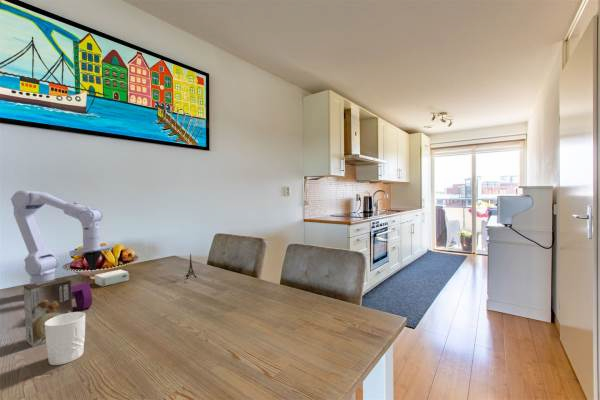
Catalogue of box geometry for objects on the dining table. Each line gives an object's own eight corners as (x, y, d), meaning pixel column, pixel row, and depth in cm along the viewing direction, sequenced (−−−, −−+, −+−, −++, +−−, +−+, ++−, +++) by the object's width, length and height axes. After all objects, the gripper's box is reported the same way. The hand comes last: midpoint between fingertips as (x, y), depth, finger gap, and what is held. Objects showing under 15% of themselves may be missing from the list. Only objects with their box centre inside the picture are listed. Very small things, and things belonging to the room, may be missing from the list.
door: (101, 286, 123) (101, 278, 123) (128, 280, 132) (127, 272, 132) (102, 286, 123) (102, 278, 123) (129, 280, 132) (129, 272, 131)
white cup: (62, 349, 72) (61, 312, 72) (93, 347, 73) (92, 311, 73) (36, 368, 65) (35, 326, 64) (71, 366, 65) (70, 325, 65)
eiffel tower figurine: (192, 273, 144) (191, 248, 144) (208, 275, 141) (207, 249, 141) (171, 282, 130) (170, 254, 130) (188, 284, 127) (188, 255, 127)
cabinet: (94, 283, 128) (94, 274, 128) (120, 277, 137) (120, 269, 137) (102, 286, 124) (102, 277, 124) (128, 279, 133) (128, 271, 133)
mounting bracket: (44, 326, 99) (60, 314, 90) (39, 303, 100) (55, 290, 92) (75, 315, 107) (94, 304, 98) (71, 295, 108) (88, 282, 100)
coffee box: (65, 327, 85) (64, 276, 84) (74, 333, 81) (72, 279, 81) (24, 341, 77) (23, 285, 77) (32, 347, 73) (30, 289, 73)
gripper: (73, 241, 107) (74, 275, 107) (114, 236, 119) (115, 267, 119) (67, 239, 111) (68, 272, 111) (107, 235, 123) (108, 264, 123)
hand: (92, 269), depth 115 cm, fingers closed
